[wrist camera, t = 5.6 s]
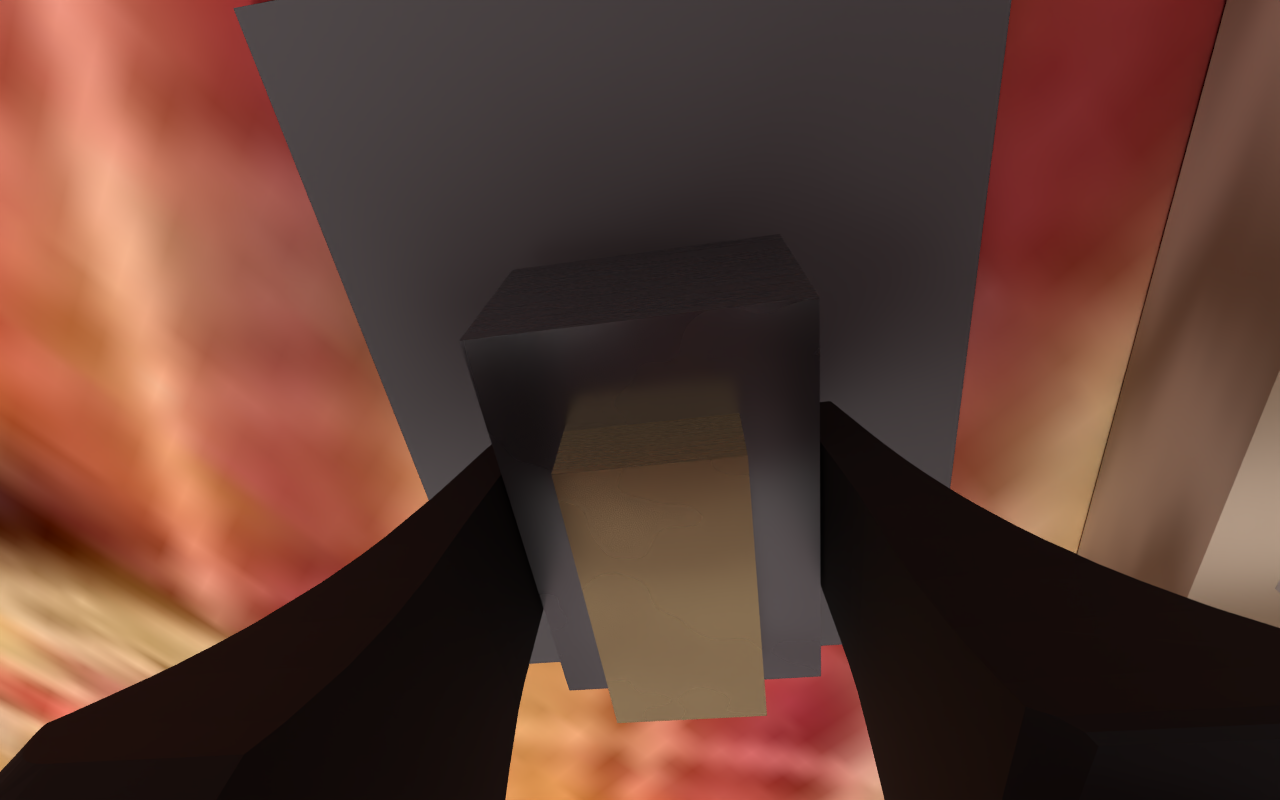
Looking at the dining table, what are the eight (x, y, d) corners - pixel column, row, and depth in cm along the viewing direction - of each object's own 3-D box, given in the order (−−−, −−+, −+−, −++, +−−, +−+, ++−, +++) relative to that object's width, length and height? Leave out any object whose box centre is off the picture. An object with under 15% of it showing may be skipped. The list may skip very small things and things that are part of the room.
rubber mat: (923, 623, 16) (930, 638, 16) (498, 651, 18) (494, 665, 17) (1011, -135, 9) (1029, -145, 8) (251, 9, 10) (233, 8, 10)
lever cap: (790, 554, 13) (834, 731, 10) (588, 570, 14) (560, 744, 10) (779, 233, 10) (839, 329, 6) (512, 269, 10) (432, 376, 7)
